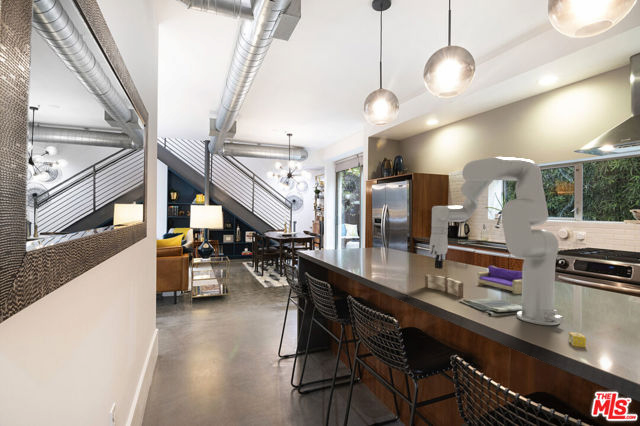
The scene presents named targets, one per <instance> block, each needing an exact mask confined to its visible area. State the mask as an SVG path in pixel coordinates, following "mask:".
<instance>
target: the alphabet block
mask: <svg viewBox="0 0 640 426" xmlns="http://www.w3.org/2000/svg"><path fill="white" fill-rule="evenodd" d="M567 336H568V337H567V339H568V343H569V344H570V345H572V346H573V347H578V348H586V343H587V342H586V341H587V337H586V336H585V335H583V334H582V333H580V332H573V331H571V332H570V331H569V332H568V335H567Z"/></svg>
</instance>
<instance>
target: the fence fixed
mask: <svg viewBox="0 0 640 426" xmlns="http://www.w3.org/2000/svg"><path fill="white" fill-rule="evenodd" d="M444 277H445V291H444V292H445V293H449V294H452V295H453V296H456V297H458V298H461V299H462V298H464V282H461V281H459V280H456V279H453V278H450V276H444Z"/></svg>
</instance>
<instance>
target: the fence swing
mask: <svg viewBox="0 0 640 426" xmlns="http://www.w3.org/2000/svg"><path fill="white" fill-rule="evenodd" d="M445 277H446V276H441V275H435V274H429V273H424V288H428V289H433V290H438V291H443V292H446V291H445Z"/></svg>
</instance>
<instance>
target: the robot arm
mask: <svg viewBox="0 0 640 426" xmlns="http://www.w3.org/2000/svg"><path fill="white" fill-rule="evenodd" d="M461 174H462V175H461V176H462V178H463V179H464V180H465V181H464V182H463V184H462V185H461V186H460V192H461V194H462V195H463V196H464V197H465V198H466V199H465V200H464V202H463V203H461V205H434V206H432V208H431V234H430V240H429V248H428V249H429V250H428V251H429V254H430V255H431V256H432V258H434V268H435V269H439V270H441V269H443V267H444V266H443V264H444V263H443V260H444V257H445V256H446V254H447V253H448V249H449V245H448V244H449V243H448V234H449V233H448V231H449V229H448V228H449V223H450V222H451V223H454V222H457V223H458V222H459V223H460V222H461V223H462V222H465V221H467V220H468V219H470V217H472V216H473V215H474V214H475V212H476V211H477V209H478V206H479V197H480V196H482V194H483V193H484V192H485V191H486V190H487V189H488V188H489V187H490V185H491V184H492V183H493V182H494V181H510V182H511V181H515V182H516V184H515V195H516V198H515V199H514V198H512V199H510V200H508V201H507V202H506V203H505V204H504V205H503V207H502V209H501V210H502V211H501V221H502V222H501V223H502V229H503V235H504V241H505V242H504V243H505V245H506V248H507V250H508V252H509V253H510V254H511V255H512V256H513V257H515V258H519V259H524V260H523V263H522V268H521V269H522V270H521V271H522V294H521V306H522V311H519V312H517V314H516V317H517V319H519V320H521V321H524V322H527V323H531V324H536V325H540V326H541V325H542V326H557V325H559V324H561V323H562V321H564V319H565V318H564V317H563V316H562V315H558V310H557V309H555V292H556V291H555V289H556V287H555V286H556V285H555V283H556V279H555V278H556V263H557V257H558V253H559V240H558V238H557V236H556V235H555V234H554V233H553V232H552V231H549V230H547V229H541V228H540V229H538V228H537V229H532V228H531V227H537V226H540V225H544V224H545V223H546V222H547V221H548V218H549V211H548V210H549V209H548V205H547V201H546V200H547V199H546V196H545V195H546V194H545V190H544V189H545V188H544V186H543V175H542V171H541V168H540V166H539V165H538V164H537V162H535V161H534V160H531V159H525V158H519V157H518V158H516V157H503V156H493V157H488V158H482V159H475V160H472V161H469V162H467V163H466V164H465V165H464V167H463V169H462V172H461Z"/></svg>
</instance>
